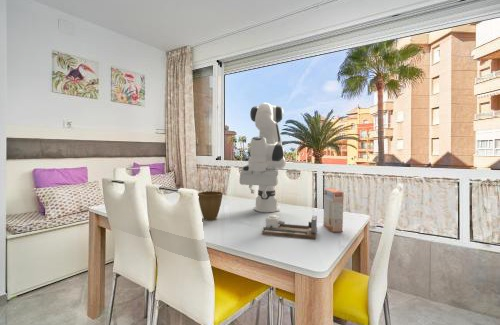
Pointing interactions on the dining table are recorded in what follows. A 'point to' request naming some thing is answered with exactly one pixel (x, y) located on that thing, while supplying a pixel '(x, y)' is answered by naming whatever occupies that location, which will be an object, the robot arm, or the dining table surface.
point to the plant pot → (210, 204)
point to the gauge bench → (291, 233)
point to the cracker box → (333, 210)
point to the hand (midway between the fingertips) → (258, 193)
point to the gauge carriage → (273, 221)
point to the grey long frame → (311, 225)
